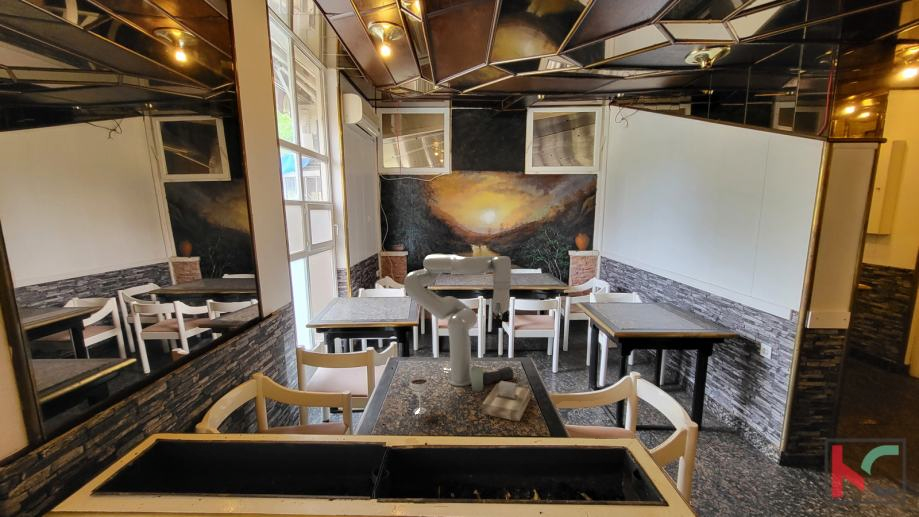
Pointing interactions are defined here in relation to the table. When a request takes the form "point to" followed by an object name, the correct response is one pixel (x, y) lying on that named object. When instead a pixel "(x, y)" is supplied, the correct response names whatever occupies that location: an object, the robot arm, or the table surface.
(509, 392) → the block
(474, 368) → the round bit
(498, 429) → the table surface
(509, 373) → the flashlight
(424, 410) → the wineglass
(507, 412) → the socket block
